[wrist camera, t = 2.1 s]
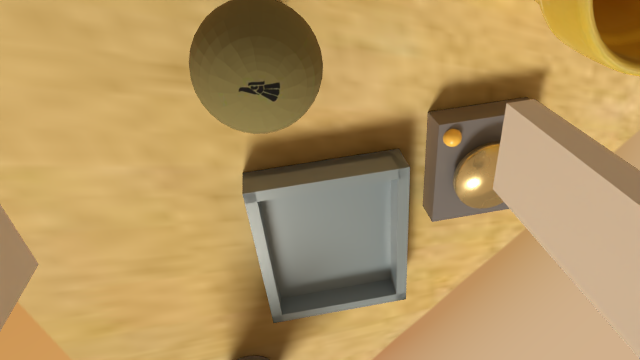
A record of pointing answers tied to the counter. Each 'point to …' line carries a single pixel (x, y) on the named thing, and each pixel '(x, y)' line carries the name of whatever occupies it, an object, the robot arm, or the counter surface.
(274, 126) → the light bulb
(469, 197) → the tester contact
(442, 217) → the tester
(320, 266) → the tray
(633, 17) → the plant pot
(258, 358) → the beverage cup
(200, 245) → the counter surface
